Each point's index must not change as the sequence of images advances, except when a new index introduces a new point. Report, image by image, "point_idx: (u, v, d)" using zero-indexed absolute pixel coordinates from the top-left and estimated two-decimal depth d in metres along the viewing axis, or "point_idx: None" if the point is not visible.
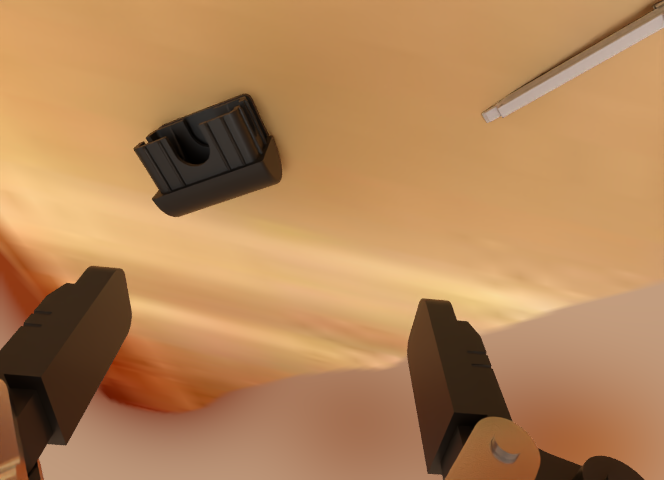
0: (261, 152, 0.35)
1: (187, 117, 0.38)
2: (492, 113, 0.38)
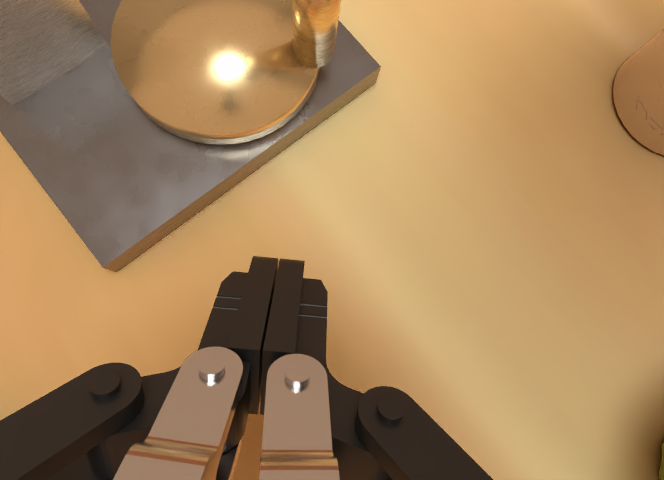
0: None
1: None
2: None
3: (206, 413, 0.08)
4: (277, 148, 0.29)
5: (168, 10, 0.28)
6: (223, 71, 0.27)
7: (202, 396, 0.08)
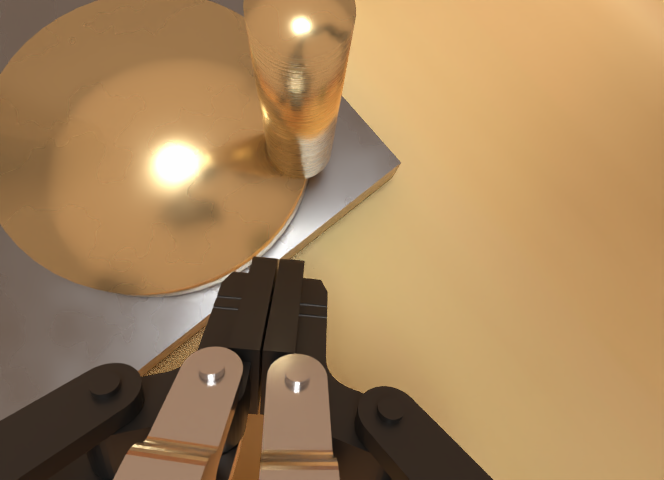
0: None
1: None
2: None
3: (206, 413, 0.08)
4: None
5: (73, 89, 0.18)
6: (156, 189, 0.17)
7: (202, 396, 0.08)
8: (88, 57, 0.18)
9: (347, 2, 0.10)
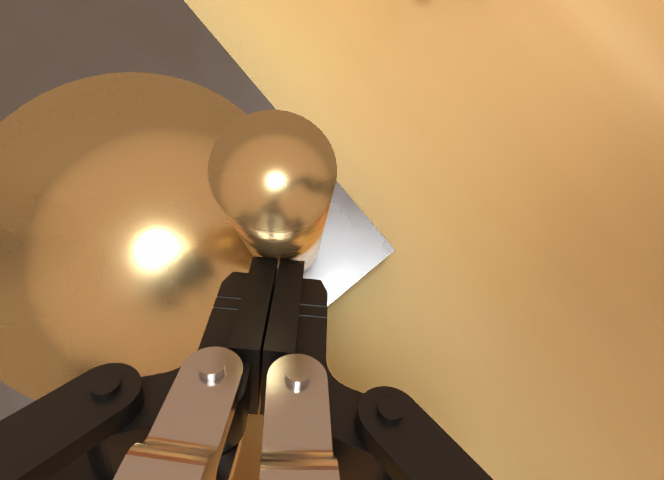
0: None
1: None
2: None
3: (206, 413, 0.08)
4: None
5: (39, 185, 0.16)
6: (131, 294, 0.16)
7: (202, 396, 0.08)
8: (55, 149, 0.17)
9: (327, 159, 0.09)
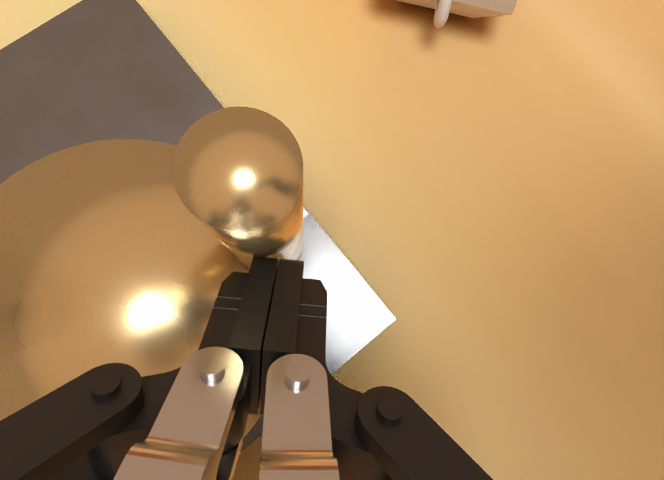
0: None
1: None
2: None
3: (206, 413, 0.08)
4: None
5: (10, 312, 0.16)
6: (157, 360, 0.16)
7: (202, 396, 0.08)
8: (5, 270, 0.16)
9: (281, 133, 0.09)
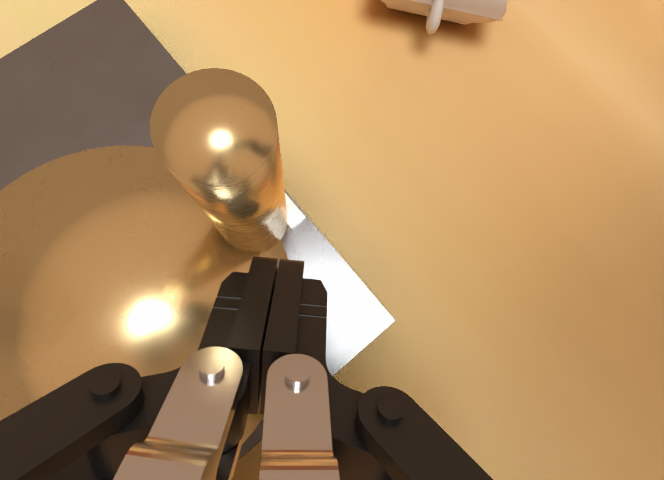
0: None
1: None
2: None
3: (206, 413, 0.08)
4: None
5: (10, 337, 0.15)
6: (167, 356, 0.16)
7: (202, 396, 0.08)
8: None
9: (248, 87, 0.09)
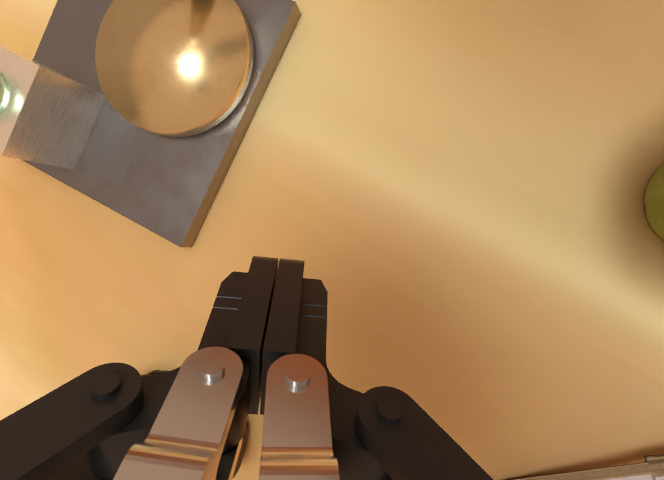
0: None
1: None
2: None
3: (206, 413, 0.08)
4: (251, 109, 0.37)
5: (135, 80, 0.35)
6: (196, 57, 0.34)
7: (201, 396, 0.08)
8: (122, 68, 0.35)
9: None
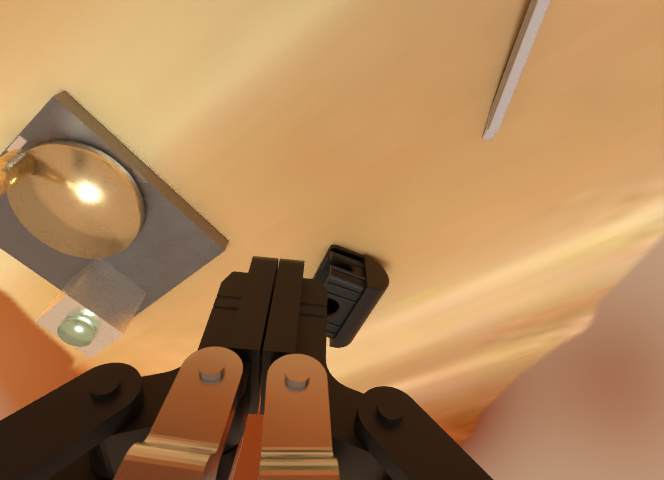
0: (364, 278, 0.48)
1: None
2: (488, 133, 0.44)
3: (206, 413, 0.08)
4: (136, 163, 0.45)
5: (91, 236, 0.47)
6: (83, 190, 0.44)
7: (202, 396, 0.08)
8: (80, 240, 0.47)
9: None
